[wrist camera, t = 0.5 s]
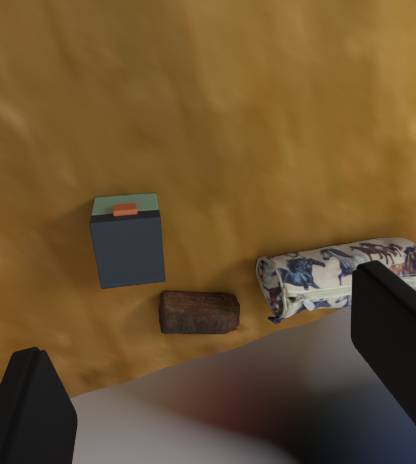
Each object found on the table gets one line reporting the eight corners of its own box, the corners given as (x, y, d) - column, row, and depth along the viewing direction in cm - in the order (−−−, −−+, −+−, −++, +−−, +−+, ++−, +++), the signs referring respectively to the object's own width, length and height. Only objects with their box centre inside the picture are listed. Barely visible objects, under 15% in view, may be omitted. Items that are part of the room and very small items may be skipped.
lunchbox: (94, 192, 42) (88, 217, 36) (155, 187, 43) (160, 211, 37) (105, 260, 46) (101, 293, 40) (160, 254, 47) (165, 286, 41)
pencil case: (252, 294, 53) (276, 342, 45) (253, 243, 49) (279, 285, 41) (388, 272, 57) (435, 313, 48) (399, 223, 53) (452, 258, 44)
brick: (157, 312, 51) (160, 335, 47) (161, 289, 50) (164, 311, 46) (229, 314, 54) (237, 336, 50) (235, 292, 53) (244, 313, 48)
